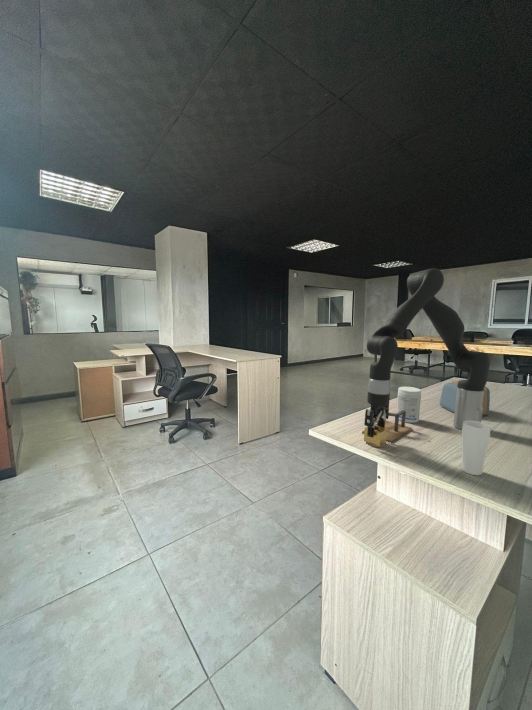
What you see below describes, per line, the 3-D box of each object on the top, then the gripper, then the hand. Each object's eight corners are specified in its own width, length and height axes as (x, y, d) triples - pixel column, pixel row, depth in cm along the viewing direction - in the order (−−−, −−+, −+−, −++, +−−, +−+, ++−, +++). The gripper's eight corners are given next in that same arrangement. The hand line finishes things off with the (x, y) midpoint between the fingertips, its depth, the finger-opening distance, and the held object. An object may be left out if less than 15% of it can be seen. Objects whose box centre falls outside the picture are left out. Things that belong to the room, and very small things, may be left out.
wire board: (411, 429, 119) (413, 411, 118) (391, 442, 106) (393, 422, 105) (383, 421, 128) (385, 404, 127) (361, 433, 114) (363, 414, 113)
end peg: (388, 443, 105) (389, 431, 105) (380, 449, 100) (381, 436, 100) (370, 437, 110) (371, 425, 110) (361, 442, 105) (362, 430, 105)
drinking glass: (480, 468, 88) (485, 422, 87) (489, 479, 82) (495, 430, 80) (455, 464, 91) (459, 419, 89) (461, 475, 84) (467, 426, 82)
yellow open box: (386, 441, 105) (387, 428, 104) (379, 446, 101) (380, 432, 100) (371, 436, 109) (372, 424, 109) (363, 440, 105) (364, 428, 105)
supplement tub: (401, 414, 138) (404, 385, 136) (422, 420, 131) (425, 389, 129) (392, 419, 132) (394, 388, 130) (413, 425, 125) (415, 392, 123)
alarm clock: (491, 416, 137) (494, 384, 135) (457, 416, 138) (460, 384, 136) (467, 406, 154) (470, 377, 152) (437, 405, 154) (440, 377, 152)
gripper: (380, 396, 95) (376, 442, 97) (397, 389, 105) (394, 431, 107) (359, 392, 101) (356, 435, 103) (377, 386, 110) (375, 426, 112)
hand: (376, 433), depth 105 cm, fingers open, 8 cm apart
